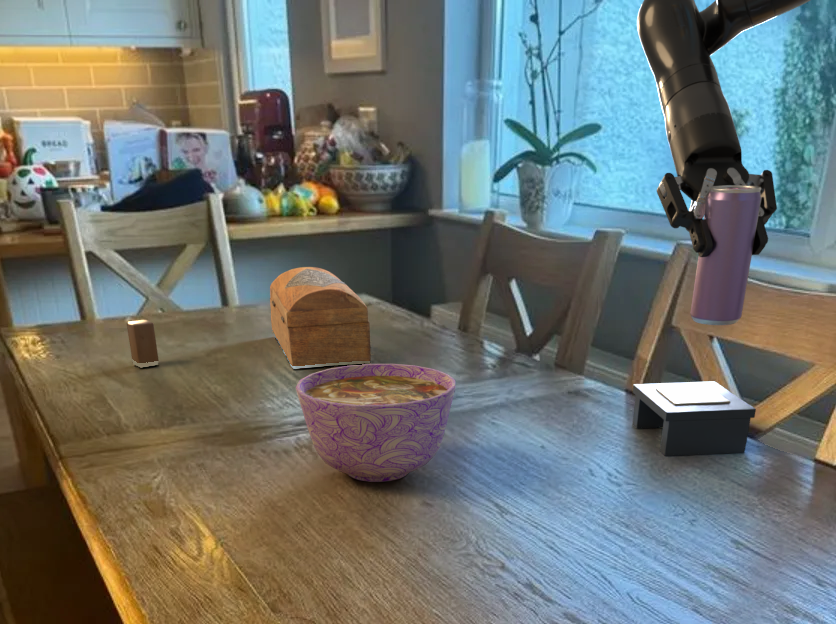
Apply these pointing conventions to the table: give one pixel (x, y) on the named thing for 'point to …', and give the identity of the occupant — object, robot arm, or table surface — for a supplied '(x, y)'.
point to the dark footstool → (693, 417)
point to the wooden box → (318, 318)
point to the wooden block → (142, 341)
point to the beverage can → (726, 254)
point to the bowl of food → (376, 417)
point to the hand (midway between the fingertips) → (733, 251)
